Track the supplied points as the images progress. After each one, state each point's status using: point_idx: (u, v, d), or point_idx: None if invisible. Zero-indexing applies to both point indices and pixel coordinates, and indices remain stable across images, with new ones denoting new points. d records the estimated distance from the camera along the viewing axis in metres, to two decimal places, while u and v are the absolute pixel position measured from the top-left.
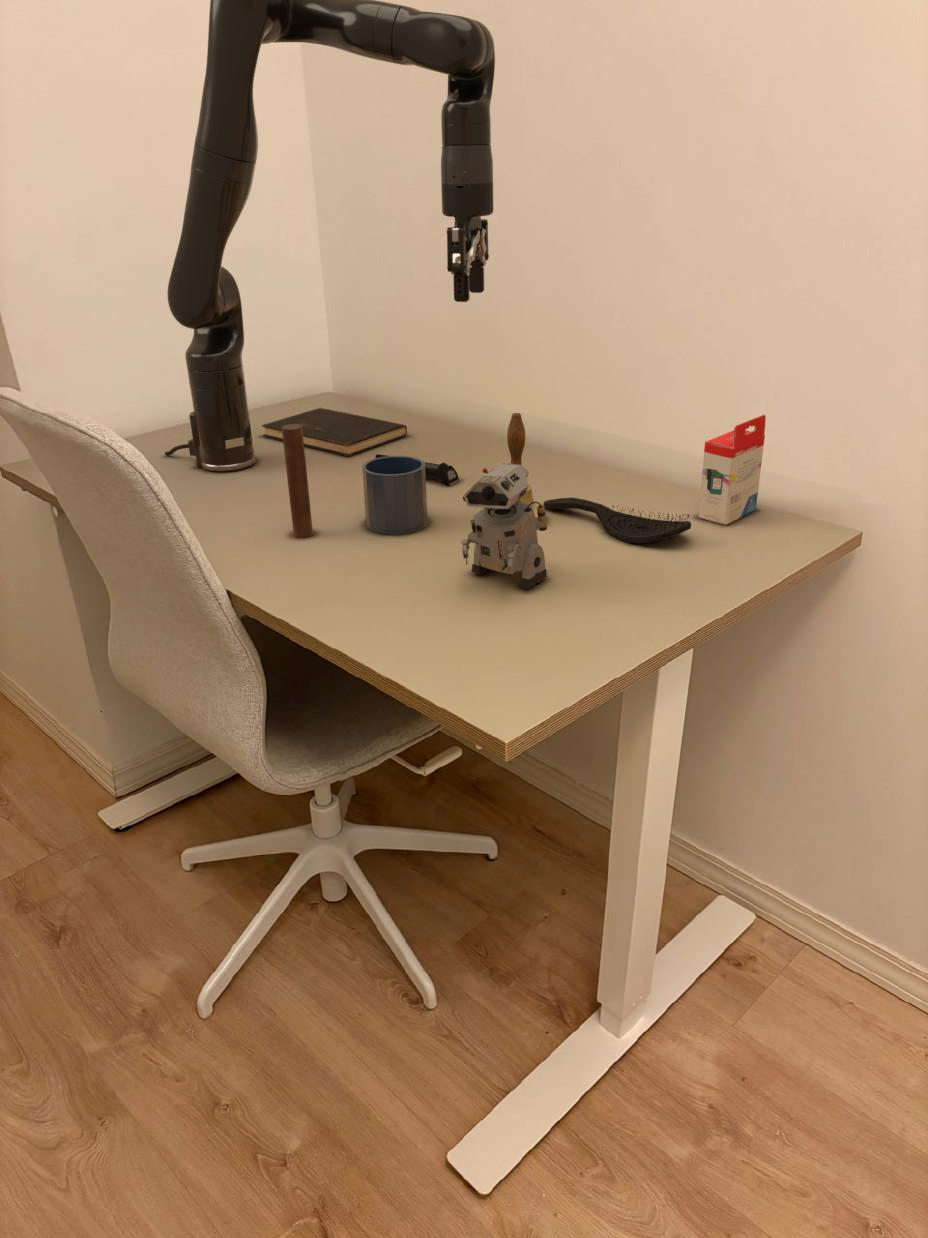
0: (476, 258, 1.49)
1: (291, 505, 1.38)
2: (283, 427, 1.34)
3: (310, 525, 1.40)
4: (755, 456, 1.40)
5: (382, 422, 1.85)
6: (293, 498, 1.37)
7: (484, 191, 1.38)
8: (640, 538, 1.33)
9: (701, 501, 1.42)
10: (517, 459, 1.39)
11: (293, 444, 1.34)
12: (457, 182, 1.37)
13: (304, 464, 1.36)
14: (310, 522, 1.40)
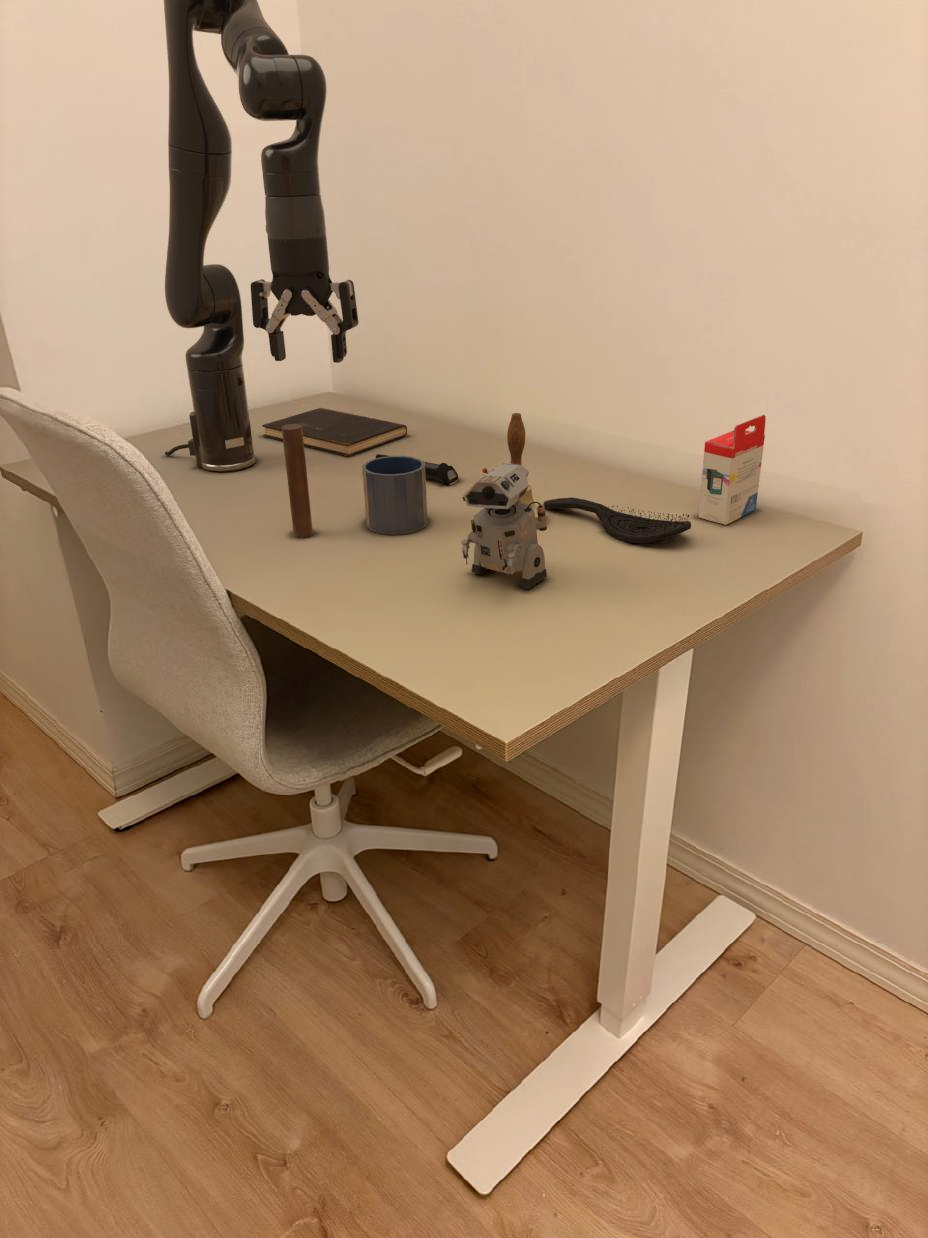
0: None
1: (291, 505, 1.38)
2: (283, 427, 1.34)
3: (310, 525, 1.40)
4: (755, 456, 1.40)
5: (382, 422, 1.85)
6: (293, 498, 1.37)
7: (274, 247, 1.23)
8: (640, 538, 1.33)
9: (701, 501, 1.42)
10: (517, 459, 1.39)
11: (293, 444, 1.34)
12: None
13: (304, 464, 1.36)
14: (310, 522, 1.40)
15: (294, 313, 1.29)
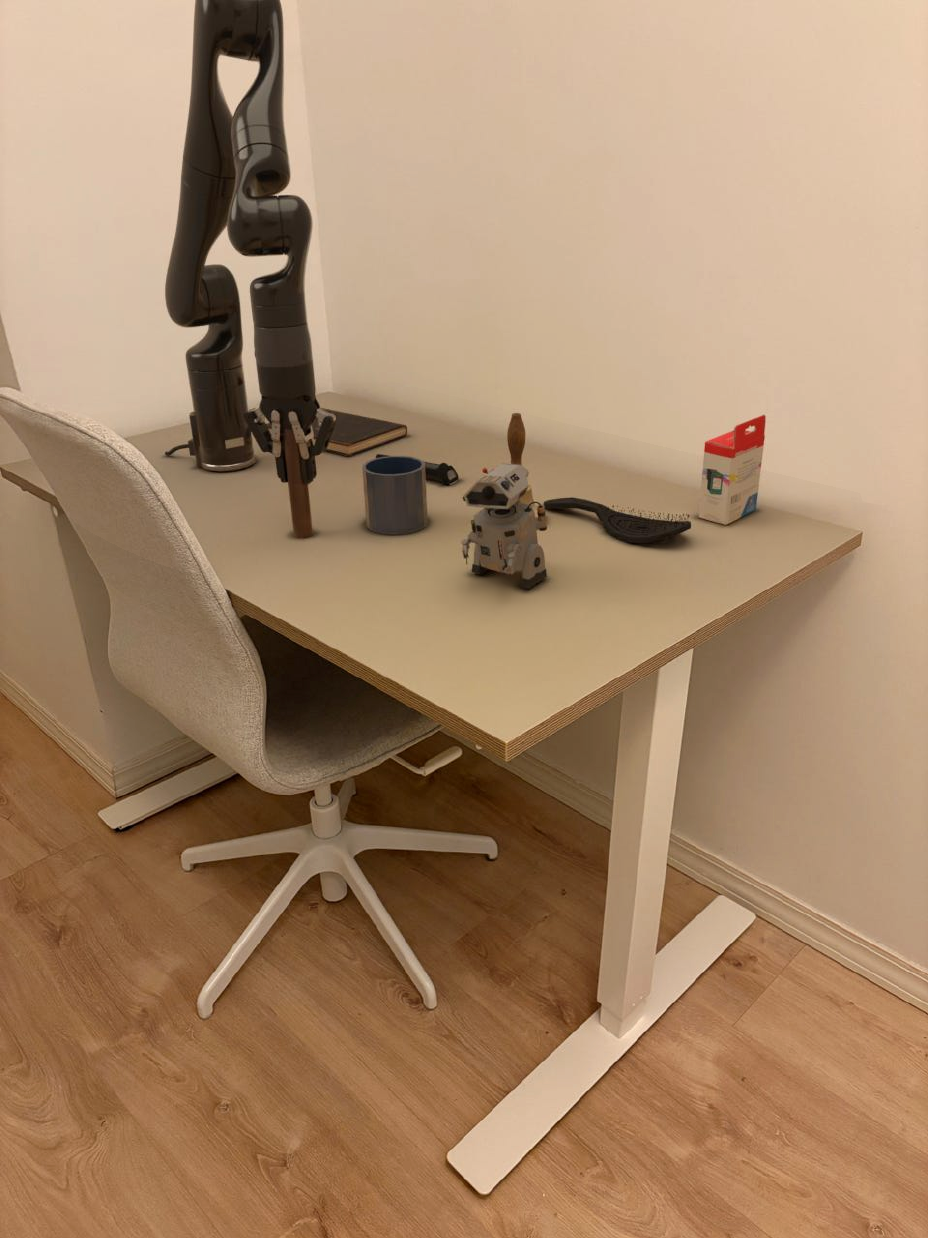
0: None
1: (291, 505, 1.38)
2: None
3: (310, 525, 1.40)
4: (755, 456, 1.40)
5: (382, 422, 1.85)
6: (293, 498, 1.37)
7: (262, 373, 1.28)
8: (640, 538, 1.33)
9: (701, 501, 1.42)
10: (518, 459, 1.39)
11: (293, 444, 1.33)
12: None
13: None
14: (310, 522, 1.40)
15: (281, 431, 1.34)
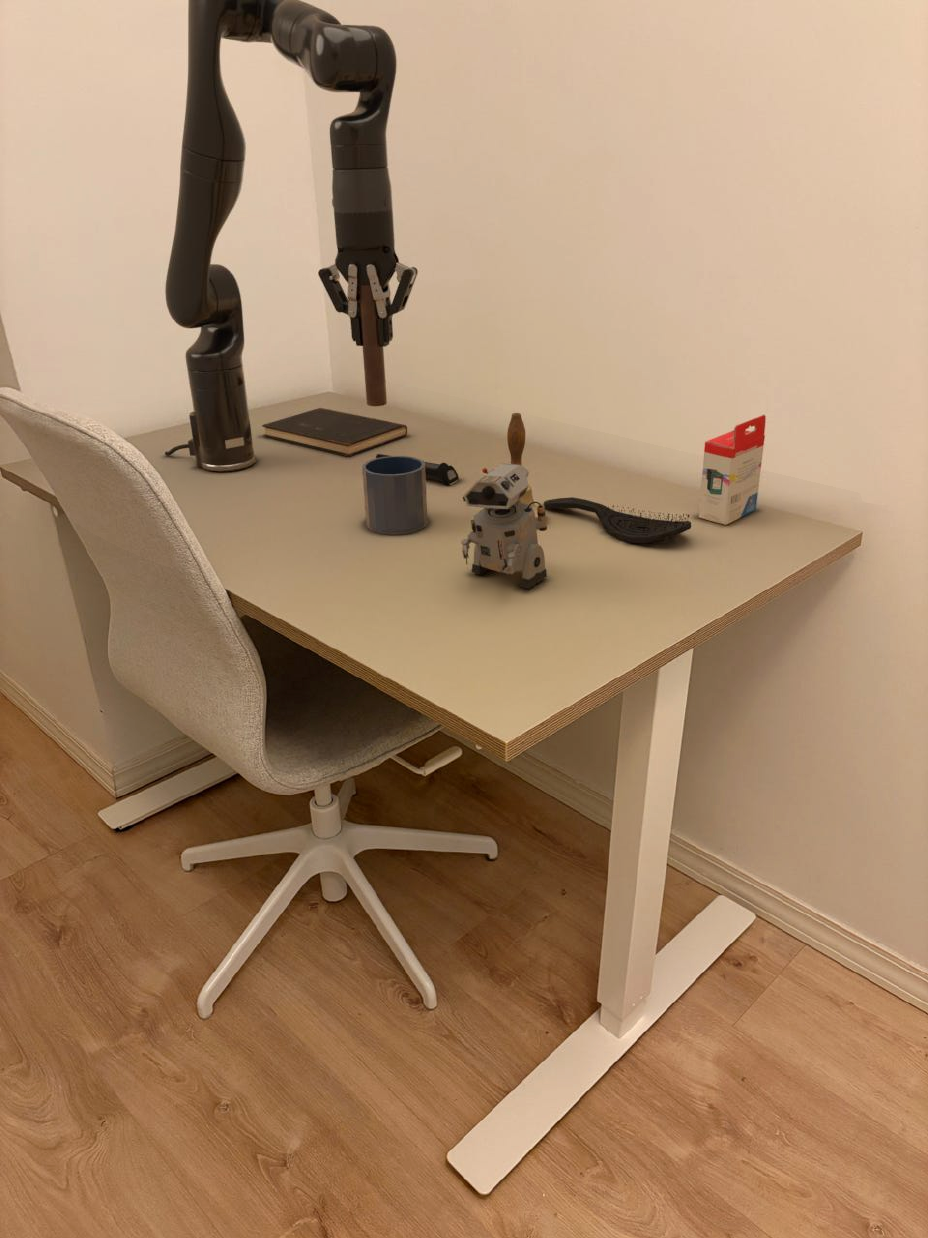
0: None
1: (365, 370, 1.32)
2: None
3: (384, 393, 1.34)
4: (755, 456, 1.40)
5: (382, 422, 1.85)
6: (368, 362, 1.31)
7: (340, 221, 1.22)
8: (640, 538, 1.33)
9: (701, 501, 1.42)
10: (518, 459, 1.39)
11: (370, 301, 1.28)
12: None
13: None
14: (385, 390, 1.34)
15: (358, 289, 1.28)
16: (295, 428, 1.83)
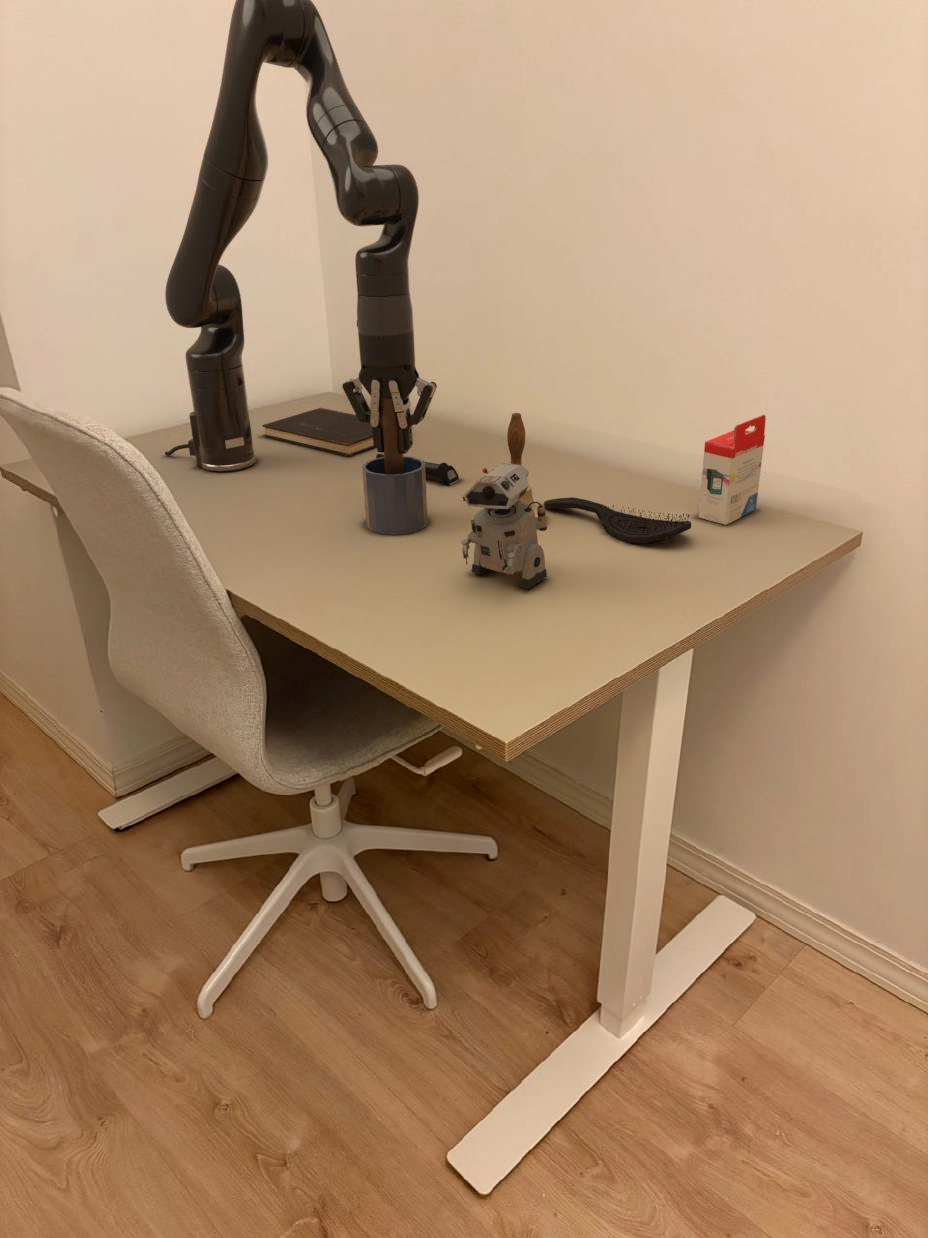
0: None
1: None
2: None
3: None
4: (755, 456, 1.40)
5: None
6: (389, 468, 1.39)
7: (365, 342, 1.30)
8: (640, 538, 1.33)
9: (701, 501, 1.42)
10: (518, 459, 1.39)
11: (391, 413, 1.35)
12: None
13: None
14: None
15: (380, 401, 1.35)
16: (295, 428, 1.83)
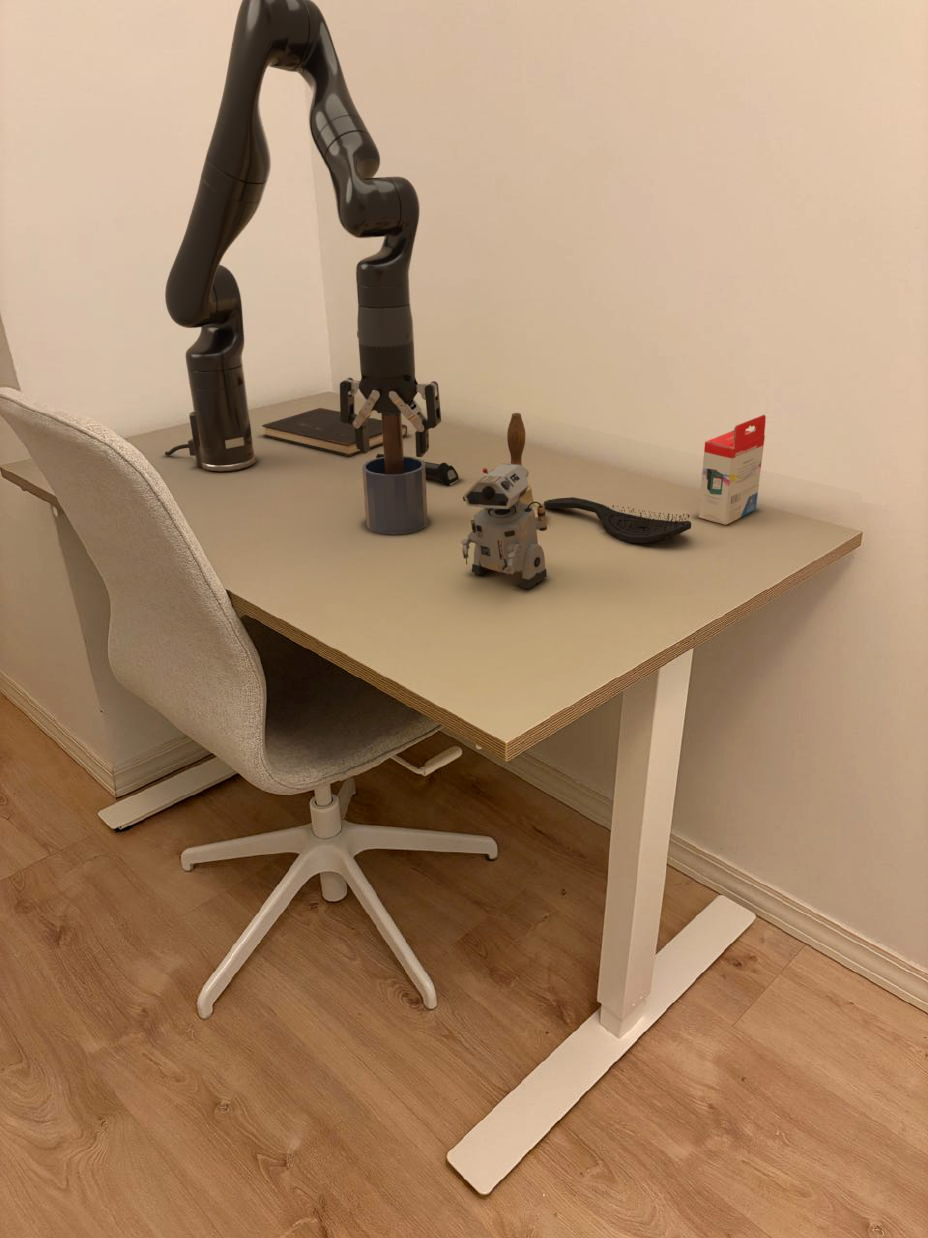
0: None
1: None
2: (383, 414, 1.36)
3: None
4: (755, 456, 1.40)
5: None
6: None
7: (365, 353, 1.30)
8: (640, 538, 1.33)
9: (701, 501, 1.42)
10: (518, 459, 1.39)
11: (392, 430, 1.36)
12: None
13: (402, 450, 1.38)
14: None
15: (380, 411, 1.36)
16: (295, 428, 1.83)
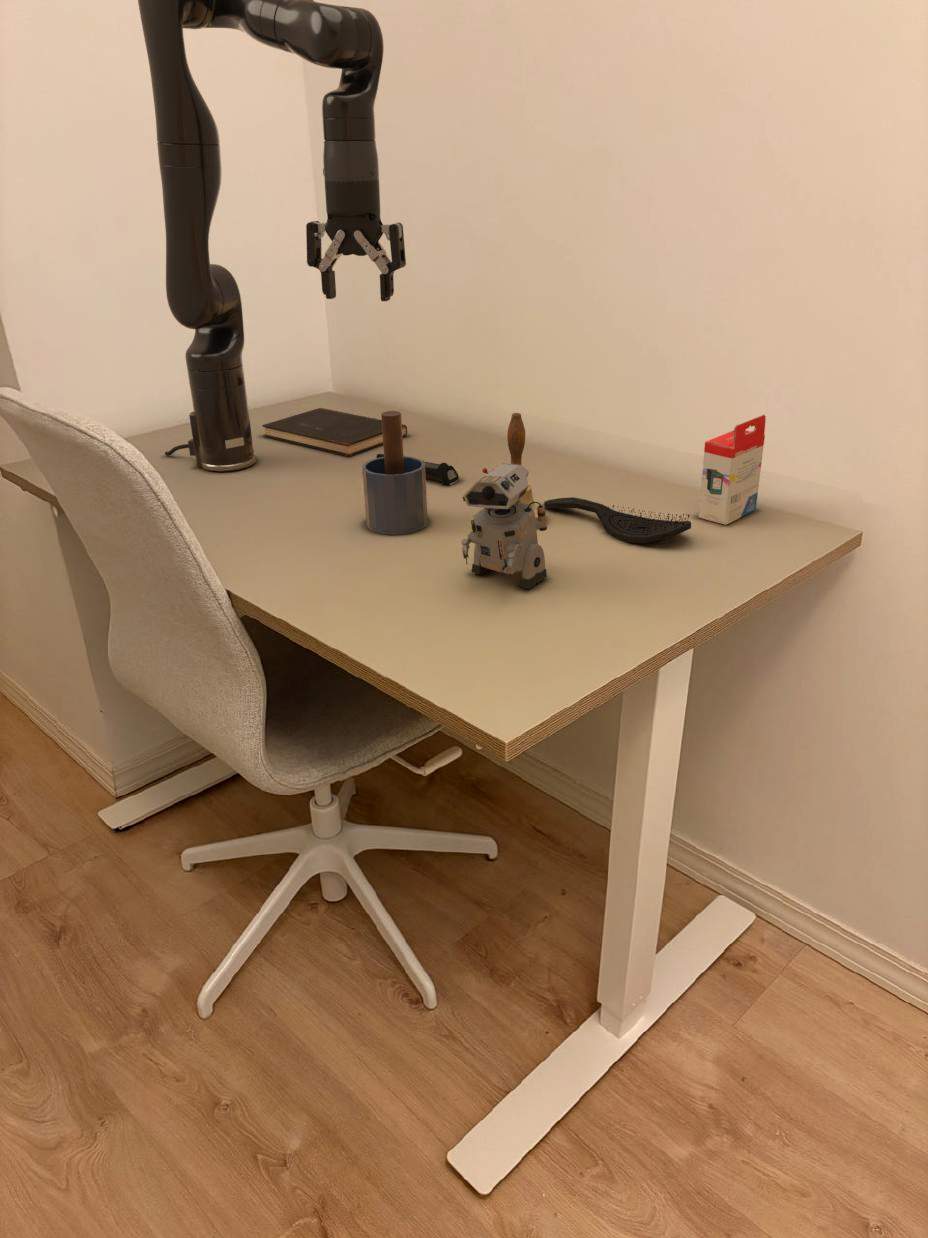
0: None
1: None
2: (383, 414, 1.36)
3: None
4: (755, 456, 1.40)
5: None
6: None
7: (330, 189, 1.32)
8: (640, 538, 1.33)
9: (701, 501, 1.42)
10: (518, 459, 1.39)
11: (392, 430, 1.36)
12: None
13: (402, 450, 1.38)
14: None
15: (345, 253, 1.38)
16: (295, 428, 1.83)
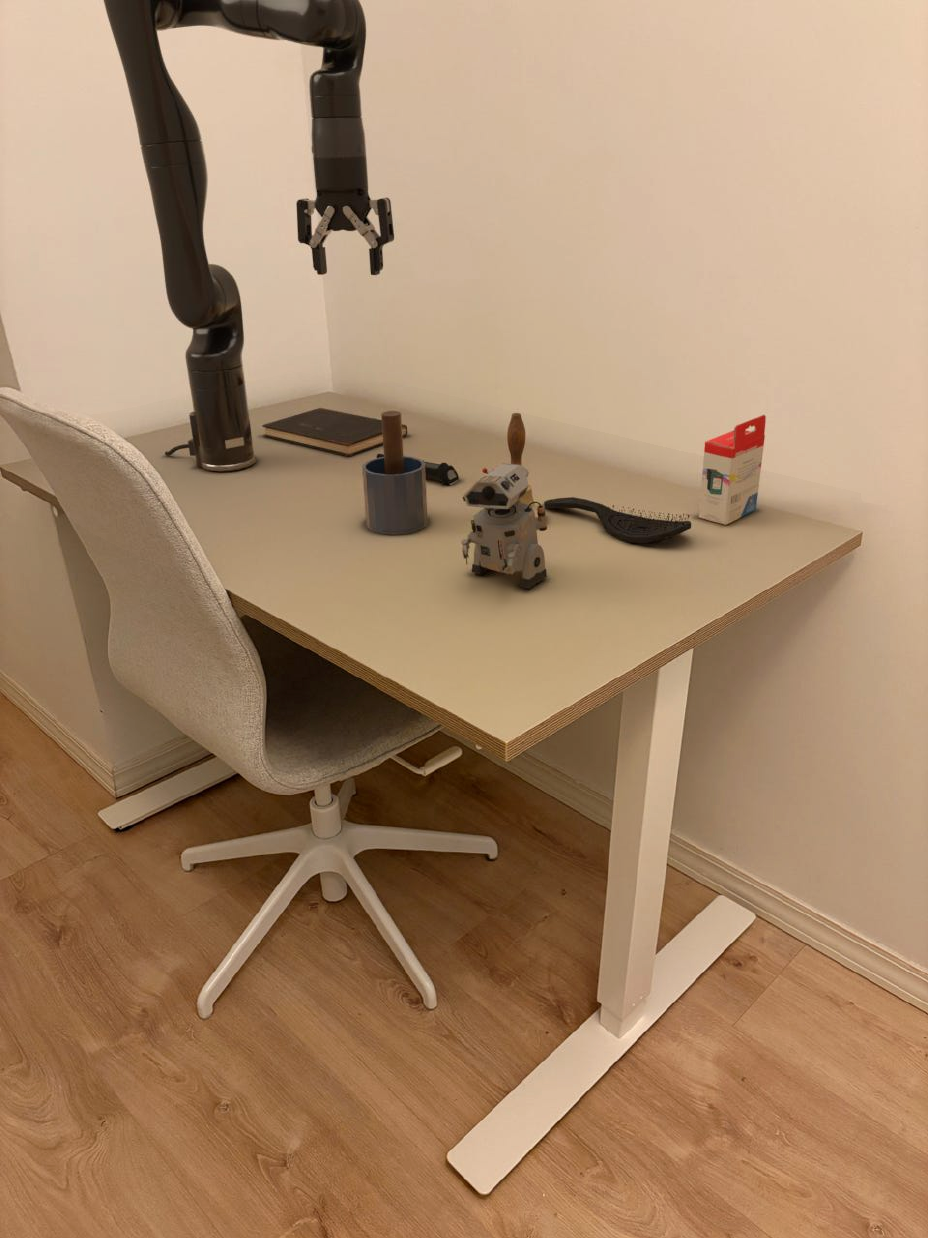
0: None
1: None
2: (383, 414, 1.36)
3: None
4: (755, 456, 1.40)
5: None
6: None
7: (319, 165, 1.36)
8: (640, 538, 1.33)
9: (701, 501, 1.42)
10: (518, 459, 1.39)
11: (392, 430, 1.36)
12: None
13: (402, 450, 1.38)
14: None
15: (335, 229, 1.41)
16: (295, 428, 1.83)
